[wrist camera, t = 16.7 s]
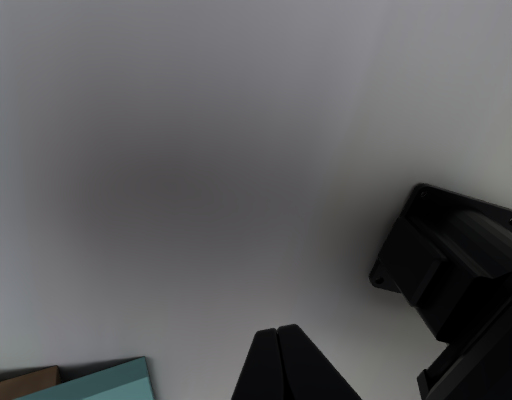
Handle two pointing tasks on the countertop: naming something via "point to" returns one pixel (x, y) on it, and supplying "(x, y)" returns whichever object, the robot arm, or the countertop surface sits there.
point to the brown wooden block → (29, 383)
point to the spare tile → (103, 385)
